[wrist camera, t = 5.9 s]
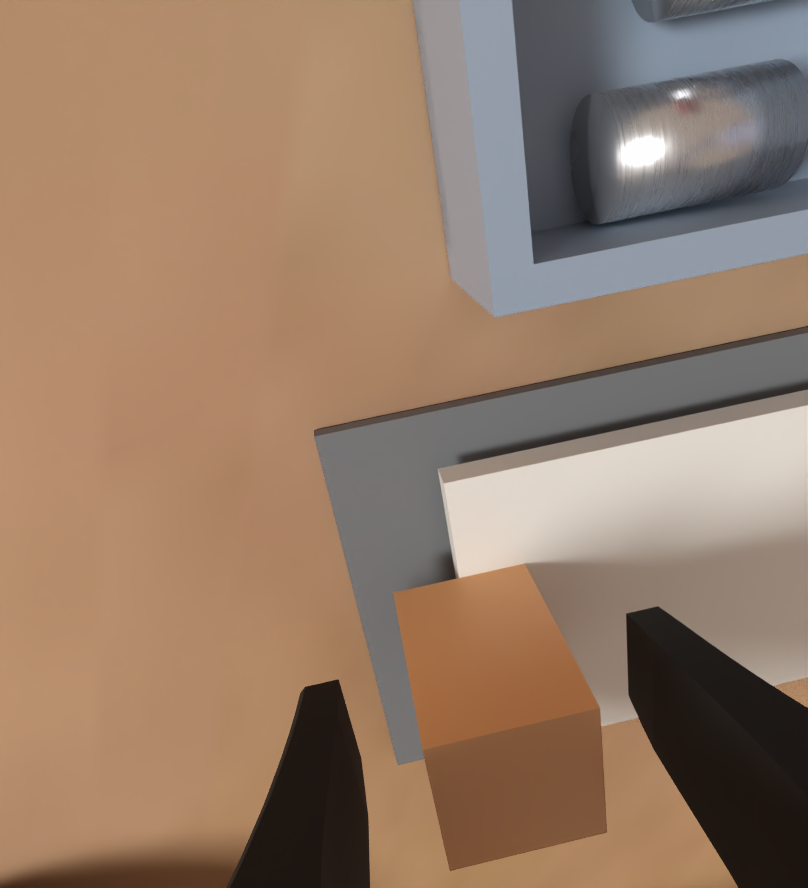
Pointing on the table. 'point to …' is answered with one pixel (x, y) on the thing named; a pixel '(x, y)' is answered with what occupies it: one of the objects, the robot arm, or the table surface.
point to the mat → (493, 434)
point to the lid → (595, 605)
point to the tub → (548, 145)
